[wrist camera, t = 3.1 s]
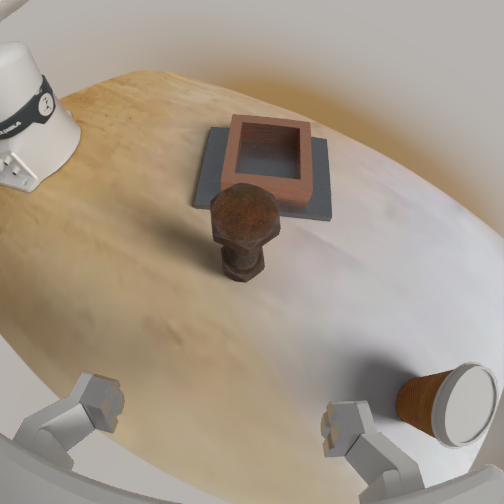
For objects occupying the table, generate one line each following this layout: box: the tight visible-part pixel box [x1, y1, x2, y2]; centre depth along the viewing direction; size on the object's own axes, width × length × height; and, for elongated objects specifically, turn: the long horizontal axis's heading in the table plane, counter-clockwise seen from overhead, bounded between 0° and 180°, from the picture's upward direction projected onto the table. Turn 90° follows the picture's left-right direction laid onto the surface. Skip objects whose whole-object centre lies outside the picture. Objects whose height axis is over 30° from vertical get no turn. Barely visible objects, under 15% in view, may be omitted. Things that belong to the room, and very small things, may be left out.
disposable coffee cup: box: [396, 362, 499, 449], centre depth 25 cm, size 10×10×12 cm
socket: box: [194, 114, 332, 221], centre depth 39 cm, size 18×14×5 cm
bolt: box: [210, 183, 281, 283], centre depth 29 cm, size 6×5×15 cm
